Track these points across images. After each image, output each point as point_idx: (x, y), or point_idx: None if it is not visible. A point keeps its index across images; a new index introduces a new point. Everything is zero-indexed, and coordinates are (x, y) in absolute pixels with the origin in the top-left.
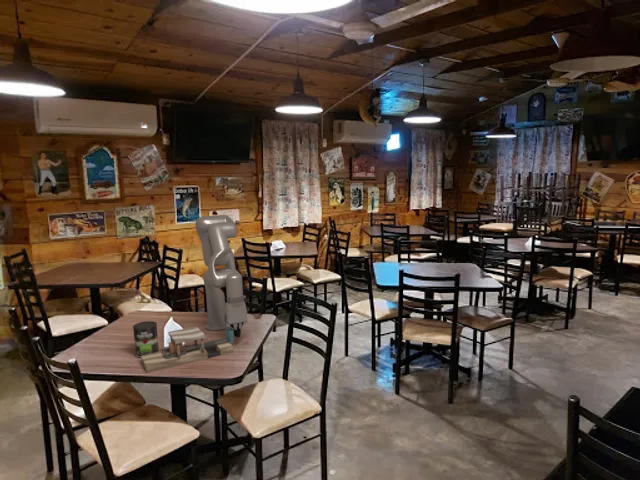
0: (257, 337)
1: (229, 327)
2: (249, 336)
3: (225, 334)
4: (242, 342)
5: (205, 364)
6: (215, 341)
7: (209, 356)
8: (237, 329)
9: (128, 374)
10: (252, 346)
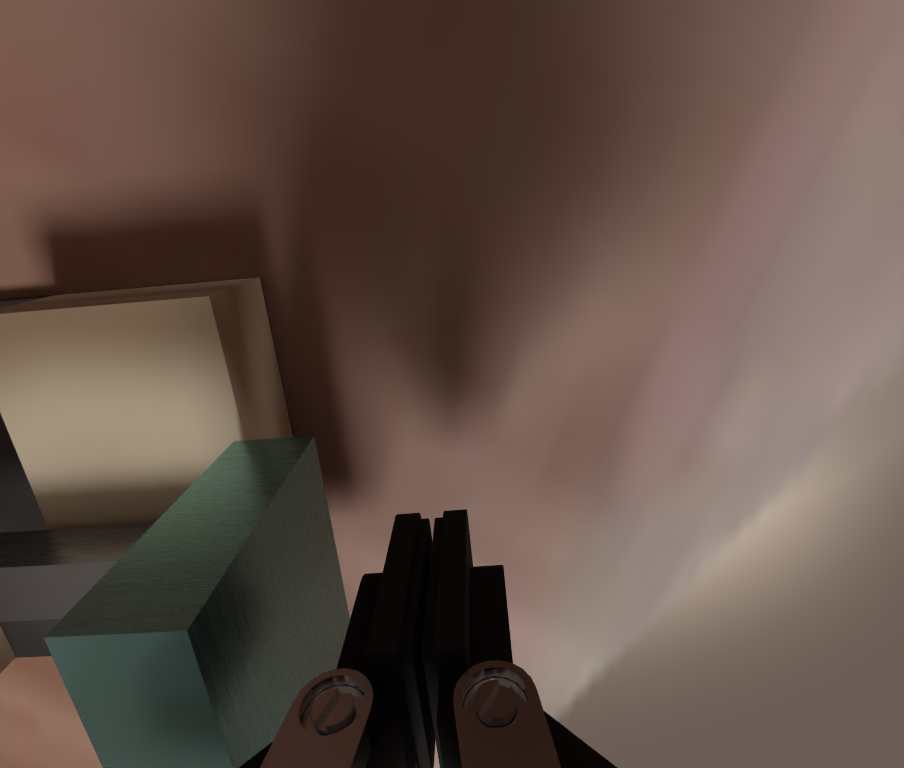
0: (861, 299)
1: (194, 718)
2: (772, 168)
3: (183, 497)
4: (547, 388)
5: (13, 755)
6: (2, 621)
7: (35, 643)
8: (427, 763)
9: None
10: (614, 588)
